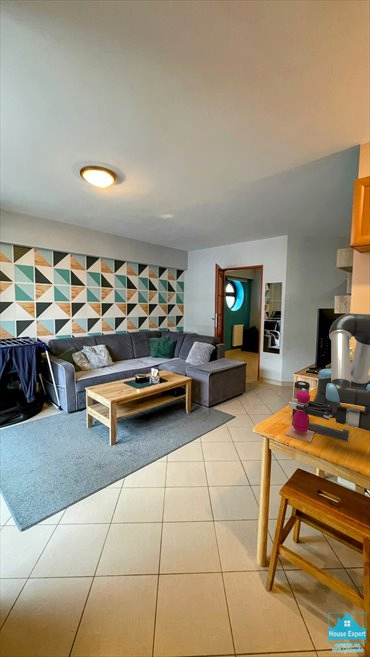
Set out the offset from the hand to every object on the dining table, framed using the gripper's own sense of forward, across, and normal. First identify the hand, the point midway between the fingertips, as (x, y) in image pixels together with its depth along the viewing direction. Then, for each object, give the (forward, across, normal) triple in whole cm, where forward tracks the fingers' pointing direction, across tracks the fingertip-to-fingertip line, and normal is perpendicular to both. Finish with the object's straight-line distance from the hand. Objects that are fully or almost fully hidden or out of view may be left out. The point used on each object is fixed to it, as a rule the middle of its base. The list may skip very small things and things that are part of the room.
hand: (290, 402), depth 125 cm
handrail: (-12, +8, -14) cm, 20 cm away
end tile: (-5, 0, -14) cm, 15 cm away
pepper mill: (-5, 0, -12) cm, 13 cm away
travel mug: (-1, +18, -14) cm, 23 cm away
